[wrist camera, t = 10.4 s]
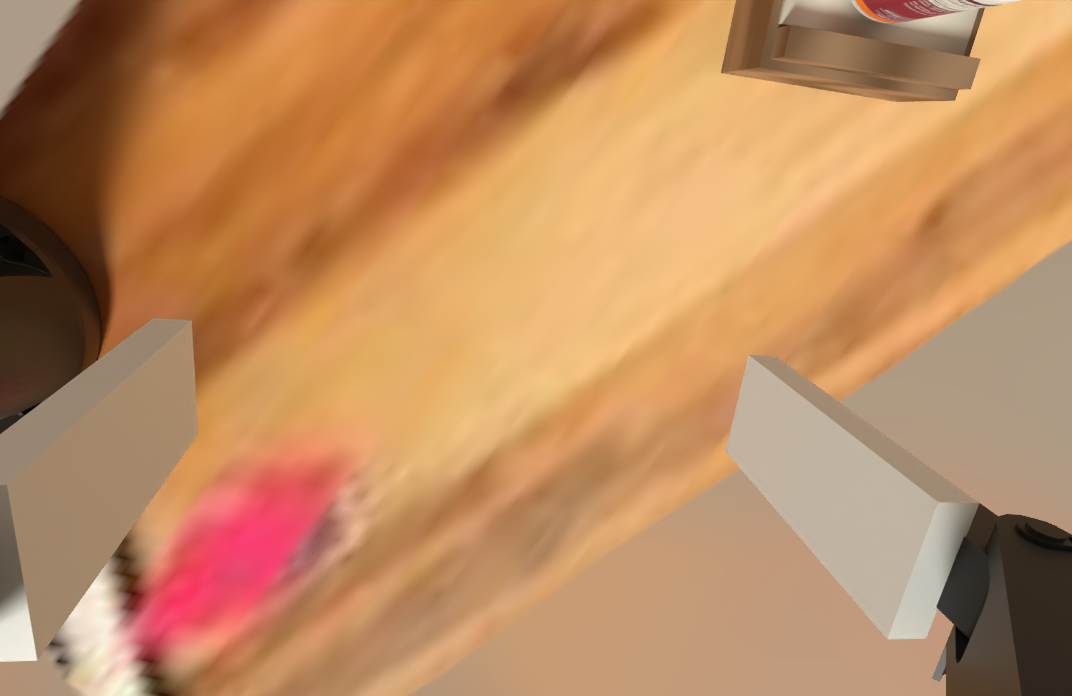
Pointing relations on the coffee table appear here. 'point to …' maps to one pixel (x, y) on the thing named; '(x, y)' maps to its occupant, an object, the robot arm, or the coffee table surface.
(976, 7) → the pill bottle
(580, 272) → the coffee table surface
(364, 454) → the coffee table surface
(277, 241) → the coffee table surface
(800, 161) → the coffee table surface
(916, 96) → the brown square open box
